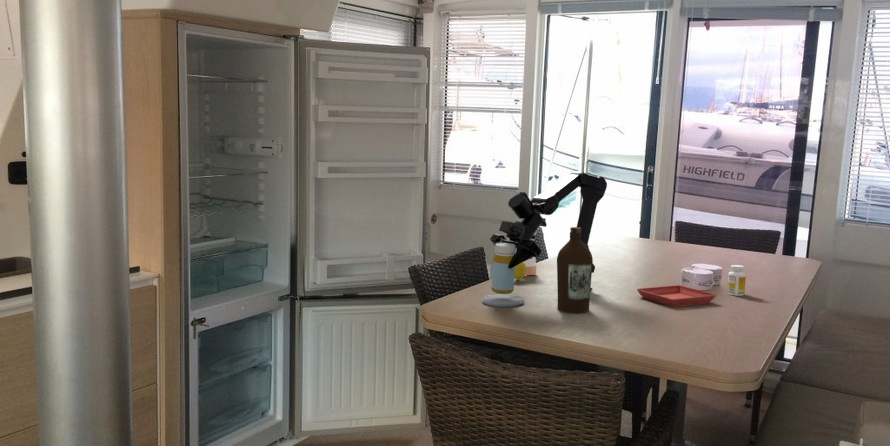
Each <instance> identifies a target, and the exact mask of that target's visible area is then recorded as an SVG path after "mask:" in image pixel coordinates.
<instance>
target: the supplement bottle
mask: <svg viewBox="0 0 890 446" xmlns="http://www.w3.org/2000/svg"><path fill="white" fill-rule="evenodd" d="M730 270H731V271H729V272H728V276H727V277H728V279H727V294H728V295H730V296H736V297H737V296H739V297H741V296H744V295H745V294H746V293H745V292H746V277H747V275H746V273H745V272H744V270H745V267H744V265H741V264H731V265H730Z"/></svg>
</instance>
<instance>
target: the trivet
mask: <svg viewBox="0 0 890 446" xmlns="http://www.w3.org/2000/svg"><path fill="white" fill-rule="evenodd" d="M482 303H483V304H484V305H486V304H487V306H491V307H496V308H497V307H498V308H512V307H513V308H514V307H520V306H522V305H525V298H524V297H523V296H519V295H515V294H499V293H494V294H489V295H485V296H483V297H482Z"/></svg>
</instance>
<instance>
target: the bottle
mask: <svg viewBox="0 0 890 446" xmlns="http://www.w3.org/2000/svg"><path fill="white" fill-rule="evenodd" d="M494 246H495V247H494V250H495V251H494V255H495V256H494V255H493V257H492V262H493V264H492V273H491V286H490V287H491V291H492V292H493V293H494V294H507V295H510V294H512V293H513V292H514V288H515V278H514V277H515V267H513V268H511V269H509V268H508V265H509V263H510V261H511V260H512V258H513V257H514V255H515V253H516V248H515V245H514V244H511V243H496V245H494Z"/></svg>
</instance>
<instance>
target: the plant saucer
mask: <svg viewBox="0 0 890 446" xmlns="http://www.w3.org/2000/svg"><path fill="white" fill-rule="evenodd" d="M636 291H637V292H638V293H639V295H640V296H641V297H642V298H643V299H646V300H649V301H651V302H652V301H653V302H656V303H659V304H662V305H665V306H668V307H673V308H675V307H685V306H694V305H703V304H704V305H705V304H709V303H710V302H712V301H713V299H715V298H716V297H717V294H715V293H712V292H707V291H705V290H704V291H703V290H701V289H696V288H692V287H688V286H685V285H680V284H678V285H675V284H674V285H667V286H666V285H665V286H664V285H663V286H655V287H642V288H636Z"/></svg>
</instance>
